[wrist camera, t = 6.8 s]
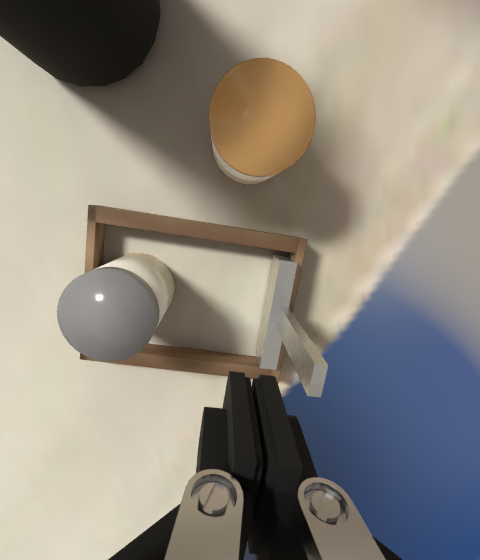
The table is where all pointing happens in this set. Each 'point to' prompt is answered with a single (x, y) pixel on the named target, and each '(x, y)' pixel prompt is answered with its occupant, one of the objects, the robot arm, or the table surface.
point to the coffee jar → (82, 36)
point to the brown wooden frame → (106, 215)
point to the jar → (260, 120)
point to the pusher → (288, 330)
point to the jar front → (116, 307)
